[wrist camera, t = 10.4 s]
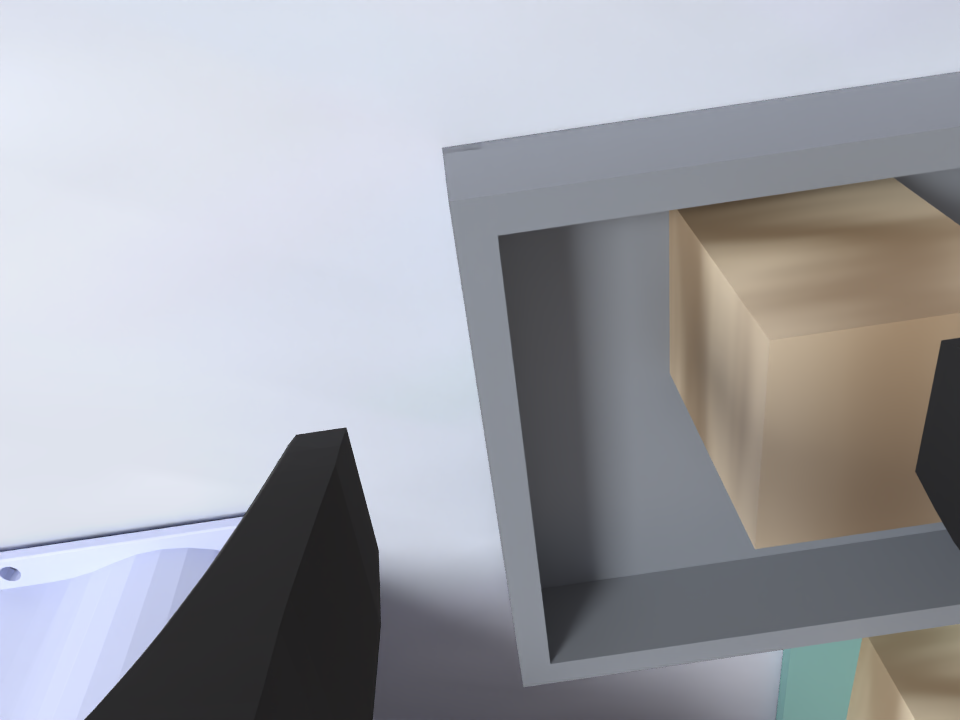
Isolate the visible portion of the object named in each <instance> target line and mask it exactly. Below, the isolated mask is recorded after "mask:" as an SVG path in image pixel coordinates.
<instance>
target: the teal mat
mask: <svg viewBox="0 0 960 720" xmlns="http://www.w3.org/2000/svg"><path fill="white" fill-rule="evenodd" d="M861 642H862V638H859V639H852V640H846V641H839V642H832V643H825V644H818V645H811V646H804V647H798V648H791V649H784V650H783V658H782V667H781V677H780V686H779V696H778V705H777V714H776V720H846V718H847V713H848V707H849V702H850V697H851V692H852V687H853V682H854V677H855V672H856V667H857V662H858V657H859V652H860V647H861Z"/></svg>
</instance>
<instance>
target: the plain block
mask: <svg viewBox="0 0 960 720" xmlns="http://www.w3.org/2000/svg"><path fill="white" fill-rule="evenodd" d="M669 309H670V375H671V377H672V379H673V381H674V383H675V385H676V387H677V389H678V391H679V394H680V396H681V398H682V400H683V402H684V404H685V406H686V408H687V410H688V412H689V414H690V416H691V418H692V420H693V422H694V424H695V427H696V429H697V431H698V433H699V435H700V437H701V439H702V441H703V443H704V445H705V447H706V449H707V451H708V453H709V455H710V458H711V460H712V462H713V464H714V466H715V468H716V470H717V472H718V474H719V476H720V478H721V480H722V482H723V484H724V486H725V489H726V491H727V493H728V495H729V497H730V499H731V501H732V503H733V505H734V507H735V509H736V511H737V513H738V515H739V517H740V519H741V522H742V524H743V526H744V528H745V530H746V532H747V534H748V536H749V538H750V540H751V542H752V544H753V546H754V548H755V549H760V548H767V547H774V546H781V545H788V544H794V543H801V542H808V541H815V540H822V539H829V538H836V537H842V536H849V535H856V534H863V533H870V532H877V531H884V530H890V529H897V528H904V527H911V526H918V525H925V524H931V523H938V522H942V521H941V519H940V517H939V516H938V514H937V512H936V510H935V509H934V507H933V505H932V503H931V501H930V499H929V497H928V495H927V493H926V491H925V489H924V488H923V486H922V484H921V482H920V480H919V478H918V476H917V474H916V472H915V469H916V464H917V459H918V454H919V449H920V444H921V439H922V434H923V429H924V424H925V419H926V414H927V409H928V404H929V399H930V394H931V389H932V384H933V379H934V374H935V369H936V364H937V359H938V354H939V349H940V344H941V340H947V339H954V338H960V225H958V224H957V223H956V222H954V221H953V220H951V219H950V218H949V217H947V216H946V215H944V214H943V213H942V212H940V211H939V210H938V209H936V208H935V207H933V206H932V205H931V204H929V203H928V202H927V201H925V200H924V199H922V198H921V197H920V196H918V195H917V194H915V193H914V192H913V191H911V190H910V189H909V188H907V187H906V186H904V185H903V184H902V183H900V182H899V181H897V180H896V179H895V178H887V179H880V180H873V181H866V182H860V183H853V184H846V185H839V186H832V187H826V188H819V189H812V190H805V191H798V192H792V193H785V194H778V195H771V196H764V197H758V198H751V199H744V200H737V201H730V202H724V203H717V204H710V205H703V206H696V207H690V208H683V209H676V210H669Z"/></svg>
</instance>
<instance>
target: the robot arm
mask: <svg viewBox="0 0 960 720" xmlns="http://www.w3.org/2000/svg"><path fill="white" fill-rule="evenodd" d="M915 472H916V474H917V476H918V478H919V480H920V482H921V484H922V486H923V488H924V489H925V491H926V493H927V495H928V497H929V499H930V501H931V503H932V505H933V507H934V509H935V510H936V512H937V514H938V516H939V517H940V519H941V521H942V523H943V524H944V526H945V528H946V529H947V531H948V533H949V535H950V536H951V538H952V540H953V542H954V543H955V544H956V546H957V547H958V549H959V550H960V338H954V339H947V340H941V344H940V349H939V354H938V359H937V364H936V369H935V374H934V379H933V384H932V389H931V394H930V399H929V404H928V409H927V414H926V419H925V424H924V429H923V434H922V439H921V444H920V449H919V454H918V459H917V464H916V469H915ZM9 567H12V568H15V569H17V570H14V569H11V568H9ZM380 628H381V617H380V578H379V550H378V546H377V542H376V538H375V535H374V531H373V527H372V523H371V519H370V516H369V512H368V508H367V504H366V501H365V497H364V493H363V489H362V485H361V482H360V478H359V474H358V470H357V466H356V463H355V459H354V455H353V451H352V447H351V444H350V440H349V436H348V432H347V428H340V429H333V430H326V431H319V432H312V433H306V434H299V435H296V436H295V437H294V438H293V440H292V441H291V442H290V443H289V445H288V447H287V448H286V450H285V451H284V453H283V455H282V456H281V458H280V459H279V461H278V463H277V464H276V466H275V468H274V469H273V471H272V472H271V474H270V476H269V477H268V479H267V480H266V482H265V484H264V485H263V487H262V488H261V490H260V492H259V493H258V495H257V496H256V498H255V499H254V501H253V503H252V504H251V506H250V507H249V509H248V510H247V512H246V513H245V515H244V517H237V518H231V519H224V520H217V521H210V522H203V523H196V524H190V525H183V526H176V527H169V528H162V529H155V530H149V531H142V532H135V533H128V534H121V535H114V536H108V537H101V538H94V539H87V540H80V541H73V542H67V543H60V544H53V545H46V546H39V547H32V548H26V549H19V550H12V551H5V552H0V720H372V719H373V708H374V698H375V687H376V675H377V664H378V652H379V640H380Z"/></svg>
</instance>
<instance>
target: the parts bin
mask: <svg viewBox="0 0 960 720" xmlns="http://www.w3.org/2000/svg"><path fill="white" fill-rule="evenodd" d="M442 150H443V158H444V166H445V175H446V183H447V191H448V200H449V207H450V213H451V220H452V226H453V233H454V239H455V246H456V252H457V259H458V265H459V272H460V278H461V285H462V291H463V298H464V304H465V311H466V317H467V324H468V330H469V337H470V343H471V350H472V357H473V363H474V370H475V376H476V383H477V389H478V396H479V402H480V409H481V415H482V422H483V428H484V435H485V441H486V448H487V454H488V461H489V467H490V474H491V480H492V487H493V493H494V500H495V506H496V513H497V519H498V526H499V532H500V539H501V545H502V552H503V558H504V565H505V571H506V578H507V585H508V591H509V598H510V604H511V611H512V617H513V624H514V630H515V637H516V643H517V650H518V656H519V663H520V669H521V676H522V682H523V687H530V686H537V685H544V684H550V683H557V682H564V681H571V680H578V679H585V678H592V677H599V676H605V675H612V674H619V673H626V672H633V671H640V670H647V669H653V668H660V667H667V666H674V665H681V664H688V663H695V662H701V661H708V660H715V659H722V658H729V657H736V656H743V655H750V654H756V653H763V652H770V651H777V650H784V649H791V648H798V647H804V646H811V645H818V644H825V643H832V642H839V641H846V640H852V639H859V638H866V637H873V636H880V635H887V634H894V633H901V632H907V631H914V630H921V629H928V628H935V627H942V626H949V625H955V624H960V550H959V549H958V547H957V546H956V544H955V543H954V542H953V540H952V538H951V536H950V535H949V533H948V531H947V529H946V528H945V526H944V524H943V523H942V522H938V523H931V524H925V525H918V526H911V527H904V528H897V529H890V530H884V531H877V532H870V533H863V534H856V535H849V536H842V537H836V538H829V539H822V540H815V541H808V542H801V543H794V544H788V545H781V546H774V547H767V548H760V549H755V548H754V546H753V544H752V542H751V540H750V538H749V536H748V534H747V532H746V530H745V528H744V526H743V524H742V522H741V519H740V517H739V515H738V513H737V511H736V509H735V507H734V505H733V503H732V501H731V499H730V497H729V495H728V493H727V491H726V489H725V486H724V484H723V482H722V480H721V478H720V476H719V474H718V472H717V470H716V468H715V466H714V464H713V462H712V460H711V458H710V455H709V453H708V451H707V449H706V447H705V445H704V443H703V441H702V439H701V437H700V435H699V433H698V431H697V429H696V427H695V424H694V422H693V420H692V418H691V416H690V414H689V412H688V410H687V408H686V406H685V404H684V402H683V400H682V398H681V396H680V394H679V391H678V389H677V387H676V385H675V383H674V381H673V379H672V377H671V375H670V309H669V210H676V209H683V208H690V207H696V206H703V205H710V204H717V203H724V202H730V201H737V200H744V199H751V198H758V197H764V196H771V195H778V194H785V193H792V192H798V191H805V190H812V189H819V188H826V187H832V186H839V185H846V184H853V183H860V182H866V181H873V180H880V179H887V178H895V179H896V180H897V181H899V182H900V183H902V184H903V185H904V186H906V187H907V188H909V189H910V190H911V191H913V192H914V193H915V194H917V195H918V196H920V197H921V198H922V199H924V200H925V201H927V202H928V203H929V204H931V205H932V206H933V207H935V208H936V209H938V210H939V211H940V212H942V213H943V214H944V215H946V216H947V217H949V218H950V219H951V220H953V221H954V222H956V223H957V224H958V225H960V72H955V73H948V74H941V75H934V76H928V77H921V78H914V79H907V80H900V81H894V82H887V83H880V84H873V85H866V86H860V87H853V88H846V89H839V90H833V91H826V92H819V93H812V94H805V95H799V96H792V97H785V98H778V99H771V100H765V101H758V102H751V103H744V104H737V105H731V106H724V107H717V108H710V109H704V110H697V111H690V112H683V113H676V114H670V115H663V116H656V117H649V118H642V119H636V120H629V121H622V122H615V123H608V124H602V125H595V126H588V127H581V128H575V129H568V130H561V131H554V132H547V133H541V134H534V135H527V136H520V137H513V138H507V139H500V140H493V141H486V142H479V143H473V144H466V145H459V146H452V147H445V148H442Z"/></svg>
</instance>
